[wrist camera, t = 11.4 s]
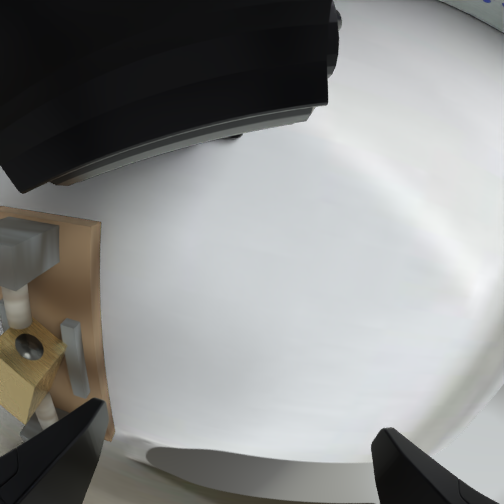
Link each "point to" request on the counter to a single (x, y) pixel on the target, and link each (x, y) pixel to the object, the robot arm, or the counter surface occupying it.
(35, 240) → the shaft stand
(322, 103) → the robot arm
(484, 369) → the counter surface
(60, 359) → the block
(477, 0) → the soda pack
